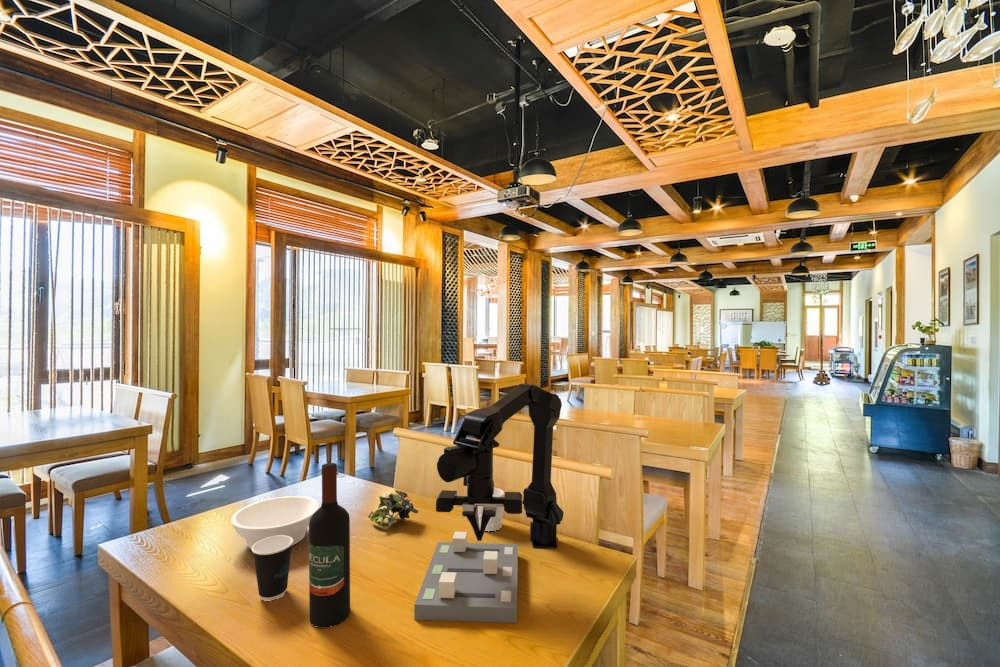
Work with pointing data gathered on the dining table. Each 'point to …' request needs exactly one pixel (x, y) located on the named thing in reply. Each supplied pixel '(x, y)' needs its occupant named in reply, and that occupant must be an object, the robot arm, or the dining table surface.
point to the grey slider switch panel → (470, 585)
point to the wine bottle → (329, 556)
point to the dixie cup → (272, 565)
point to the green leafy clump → (393, 508)
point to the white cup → (496, 521)
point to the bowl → (275, 518)
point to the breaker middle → (490, 562)
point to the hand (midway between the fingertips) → (479, 540)
